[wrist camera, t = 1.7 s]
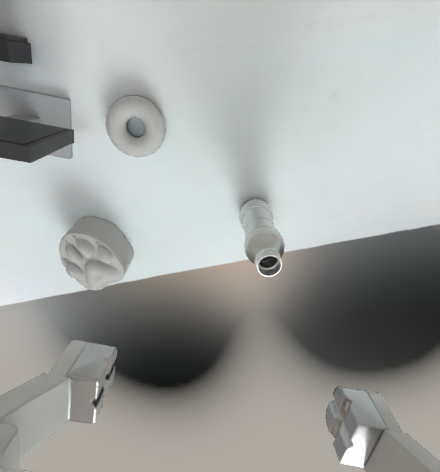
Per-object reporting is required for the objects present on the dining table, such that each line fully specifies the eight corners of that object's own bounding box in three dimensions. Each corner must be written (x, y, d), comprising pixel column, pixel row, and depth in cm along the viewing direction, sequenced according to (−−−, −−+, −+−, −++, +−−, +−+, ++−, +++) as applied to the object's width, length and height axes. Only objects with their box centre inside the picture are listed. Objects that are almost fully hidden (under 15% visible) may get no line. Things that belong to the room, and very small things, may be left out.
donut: (111, 151, 56) (166, 157, 56) (105, 156, 53) (163, 161, 53) (107, 91, 51) (167, 97, 52) (100, 92, 48) (163, 99, 49)
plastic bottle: (238, 227, 63) (246, 286, 45) (238, 196, 60) (246, 246, 42) (270, 225, 63) (290, 284, 45) (271, 194, 60) (293, 244, 42)
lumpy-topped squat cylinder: (101, 274, 68) (86, 300, 61) (61, 228, 63) (40, 250, 55) (139, 256, 66) (129, 279, 59) (102, 206, 61) (85, 225, 53)
